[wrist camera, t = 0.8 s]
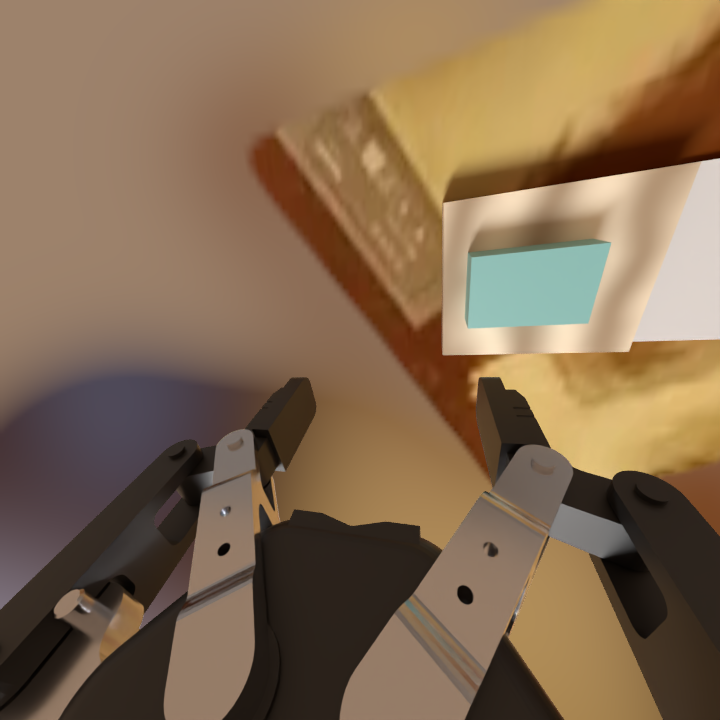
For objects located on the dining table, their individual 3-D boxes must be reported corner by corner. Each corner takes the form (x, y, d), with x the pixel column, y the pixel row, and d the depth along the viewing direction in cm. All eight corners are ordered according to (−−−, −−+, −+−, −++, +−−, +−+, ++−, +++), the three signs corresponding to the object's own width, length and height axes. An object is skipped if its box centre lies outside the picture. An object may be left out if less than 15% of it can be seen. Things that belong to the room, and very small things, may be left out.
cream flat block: (671, 166, 19) (701, 161, 17) (612, 339, 26) (628, 351, 24) (442, 202, 24) (443, 202, 21) (441, 344, 30) (442, 355, 28)
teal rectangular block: (592, 238, 21) (611, 242, 18) (574, 312, 23) (588, 323, 21) (467, 252, 23) (471, 257, 21) (464, 318, 26) (467, 328, 24)
